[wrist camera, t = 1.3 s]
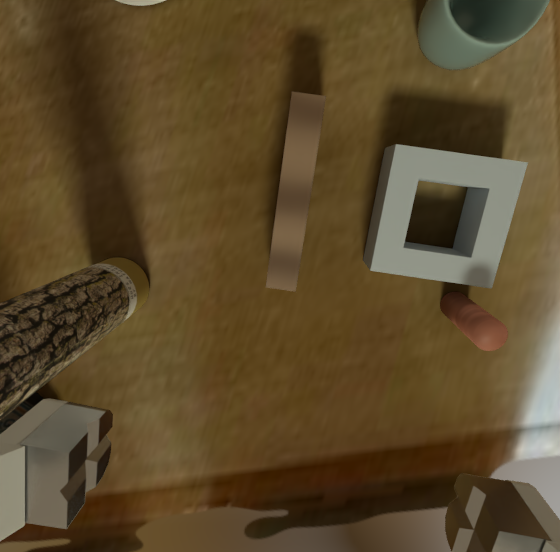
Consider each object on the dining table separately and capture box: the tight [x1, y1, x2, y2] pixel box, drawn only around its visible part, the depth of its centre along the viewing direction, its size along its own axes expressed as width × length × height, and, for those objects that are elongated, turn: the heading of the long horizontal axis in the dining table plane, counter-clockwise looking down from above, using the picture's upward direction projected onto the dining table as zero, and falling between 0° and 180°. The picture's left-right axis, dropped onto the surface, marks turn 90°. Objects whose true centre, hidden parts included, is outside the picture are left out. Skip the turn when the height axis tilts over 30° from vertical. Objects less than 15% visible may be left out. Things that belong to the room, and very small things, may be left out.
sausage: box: [440, 292, 508, 351], centre depth 40 cm, size 3×3×9 cm
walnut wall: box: [266, 92, 326, 292], centre depth 39 cm, size 18×3×6 cm, turn 172°
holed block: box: [363, 144, 528, 288], centre depth 39 cm, size 12×12×5 cm
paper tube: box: [0, 257, 149, 420], centre depth 34 cm, size 7×7×25 cm
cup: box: [417, 0, 550, 70], centre depth 33 cm, size 8×8×10 cm
